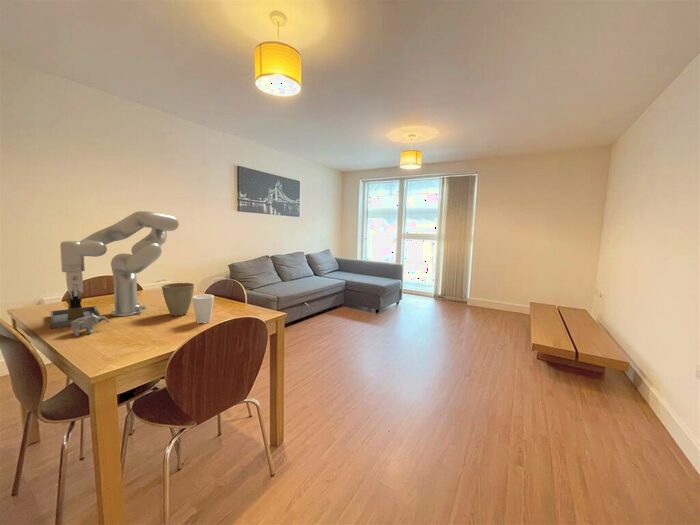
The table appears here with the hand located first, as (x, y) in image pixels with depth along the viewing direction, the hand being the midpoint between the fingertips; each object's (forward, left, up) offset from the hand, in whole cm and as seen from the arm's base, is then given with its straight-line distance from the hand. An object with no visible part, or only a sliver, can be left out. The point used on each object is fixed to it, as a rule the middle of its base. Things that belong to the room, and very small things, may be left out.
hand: (75, 307), depth 133 cm
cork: (+1, -2, -7) cm, 7 cm away
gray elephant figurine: (-12, +13, -8) cm, 19 cm away
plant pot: (-40, -10, -8) cm, 42 cm away
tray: (+4, -7, -8) cm, 12 cm away
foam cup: (-55, +5, -8) cm, 55 cm away
